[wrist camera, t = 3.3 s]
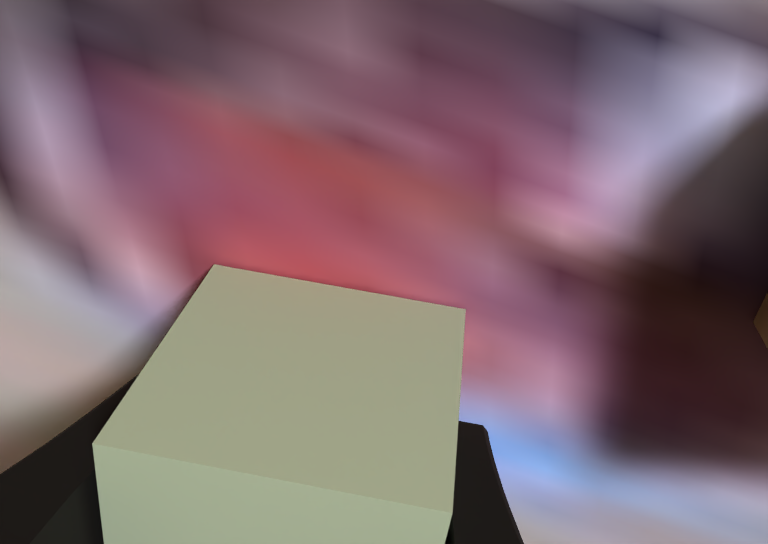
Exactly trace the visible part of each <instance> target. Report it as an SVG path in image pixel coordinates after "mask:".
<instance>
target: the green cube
mask: <svg viewBox="0 0 768 544" xmlns="http://www.w3.org/2000/svg"><path fill="white" fill-rule="evenodd" d="M465 312H466V309H461V308H455V307H450V306H444V305H439V304H433V303H427V302H422V301H416V300H411V299H405V298H399V297H394V296H388V295H383V294H377V293H371V292H366V291H360V290H355V289H349V288H343V287H338V286H332V285H327V284H321V283H315V282H310V281H304V280H299V279H293V278H287V277H282V276H276V275H271V274H265V273H259V272H254V271H248V270H243V269H237V268H231V267H226V266H220V265H215V264H214V265H213V266H212V268H211V269H210V271H209V272H208V274H207V275H206V277H205V278H204V280H203V281H202V283H201V284H200V286H199V287H198V289H197V290H196V292H195V293H194V294H193V296H192V297H191V299H190V300H189V302H188V303H187V305H186V306H185V308H184V309H183V311H182V312H181V314H180V315H179V317H178V318H177V320H176V321H175V322H174V324H173V325H172V327H171V328H170V330H169V331H168V333H167V334H166V336H165V337H164V339H163V340H162V342H161V343H160V345H159V346H158V348H157V349H156V350H155V352H154V353H153V355H152V356H151V358H150V359H149V361H148V362H147V364H146V365H145V367H144V368H143V370H142V371H141V373H140V374H139V376H138V377H137V378H136V380H135V381H134V383H133V384H132V386H131V387H130V389H129V390H128V392H127V393H126V395H125V396H124V398H123V399H122V401H121V402H120V404H119V405H118V406H117V408H116V409H115V411H114V412H113V414H112V415H111V417H110V418H109V420H108V421H107V423H106V424H105V426H104V427H103V429H102V430H101V432H100V433H99V434H98V436H97V437H96V439H95V440H94V442H93V443H92V446H93V454H94V463H95V471H96V480H97V488H98V497H99V506H100V514H101V523H102V531H103V540H104V544H445V541H446V537H447V533H448V529H449V525H450V521H451V517H452V513H453V498H454V483H455V467H456V452H457V436H458V421H459V405H460V390H461V374H462V359H463V343H464V328H465Z"/></svg>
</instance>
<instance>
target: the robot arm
mask: <svg viewBox="0 0 768 544" xmlns="http://www.w3.org/2000/svg"><path fill="white" fill-rule="evenodd" d="M139 374H140V373H139ZM139 374H138V375H137V376H136V377H134V378H133V379H132V380H130V381H129V382H128V383H127V384H125V385H124V386H123V387H121V388H120V389H119V390H118V391H116V392H115V393H114V394H112V395H111V396H110V397H109V398H107V399H106V400H105V401H103V402H102V403H101V404H99V405H98V406H97V407H95V408H94V409H93V410H92V411H90V412H89V413H88V414H86V415H85V416H84V417H82V418H81V419H79V420H78V421H77V422H75V423H74V424H73V425H71V426H70V427H68V428H67V429H66V430H64V431H63V432H62V433H60V434H59V435H58V436H56V437H55V438H53V439H52V440H51V441H49V442H48V443H46V444H45V445H43V446H42V447H40V448H39V449H37V450H36V451H34V452H33V453H31V454H30V455H28V456H27V457H25V458H24V459H22V460H21V461H19V462H18V463H16V464H15V465H13V466H12V467H10V468H9V469H7V470H6V471H4V472H3V473H1V474H0V544H104V540H103V531H102V523H101V514H100V506H99V497H98V488H97V480H96V471H95V463H94V454H93V446H92V443H93V442H94V440H95V439H96V437H97V436H98V434H99V433H100V432H101V430H102V429H103V427H104V426H105V424H106V423H107V421H108V420H109V418H110V417H111V415H112V414H113V412H114V411H115V409H116V408H117V406H118V405H119V404H120V402H121V401H122V399H123V398H124V396H125V395H126V393H127V392H128V390H129V389H130V387H131V386H132V384H133V383H134V381H135V380H136V378H137V377H138V376H139ZM445 544H524V543H523V540H522V538H521V535H520V533H519V530H518V528H517V525H516V522H515V520H514V517H513V515H512V512H511V510H510V507H509V504H508V501H507V499H506V496H505V493H504V490H503V487H502V484H501V481H500V478H499V474H498V471H497V468H496V464H495V461H494V457H493V454H492V450H491V445H490V441H489V436H488V432H487V430H486V429H485V428H484V426H483V425H478V424H472V423H467V422H462V421H458V436H457V452H456V467H455V483H454V498H453V513H452V517H451V521H450V525H449V529H448V533H447V537H446V541H445Z"/></svg>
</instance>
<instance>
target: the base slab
mask: <svg viewBox="0 0 768 544" xmlns="http://www.w3.org/2000/svg"><path fill="white" fill-rule="evenodd" d="M753 323H754V325H755V327H756V329H757V331H758V332H759V334H760V336H761V338H762V340H763V341H764V343H765V345H766V347H767V349H768V292H767V294H766V296H765V298H764V300H763V302H762V304H761V307H760V309H759V311H758V313H757V315H756V317H755V319H754V321H753Z"/></svg>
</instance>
